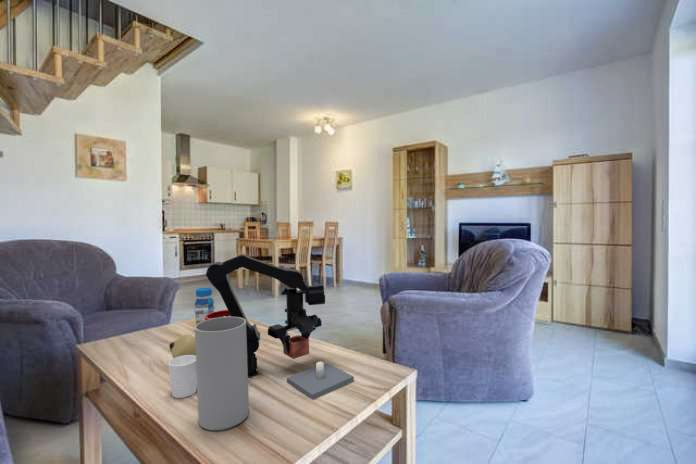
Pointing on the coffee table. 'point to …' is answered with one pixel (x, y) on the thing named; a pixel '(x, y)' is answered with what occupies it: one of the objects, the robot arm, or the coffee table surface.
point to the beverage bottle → (203, 304)
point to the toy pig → (183, 346)
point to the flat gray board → (319, 380)
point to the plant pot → (217, 314)
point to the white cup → (183, 376)
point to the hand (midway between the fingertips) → (296, 350)
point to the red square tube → (297, 347)
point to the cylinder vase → (221, 372)
